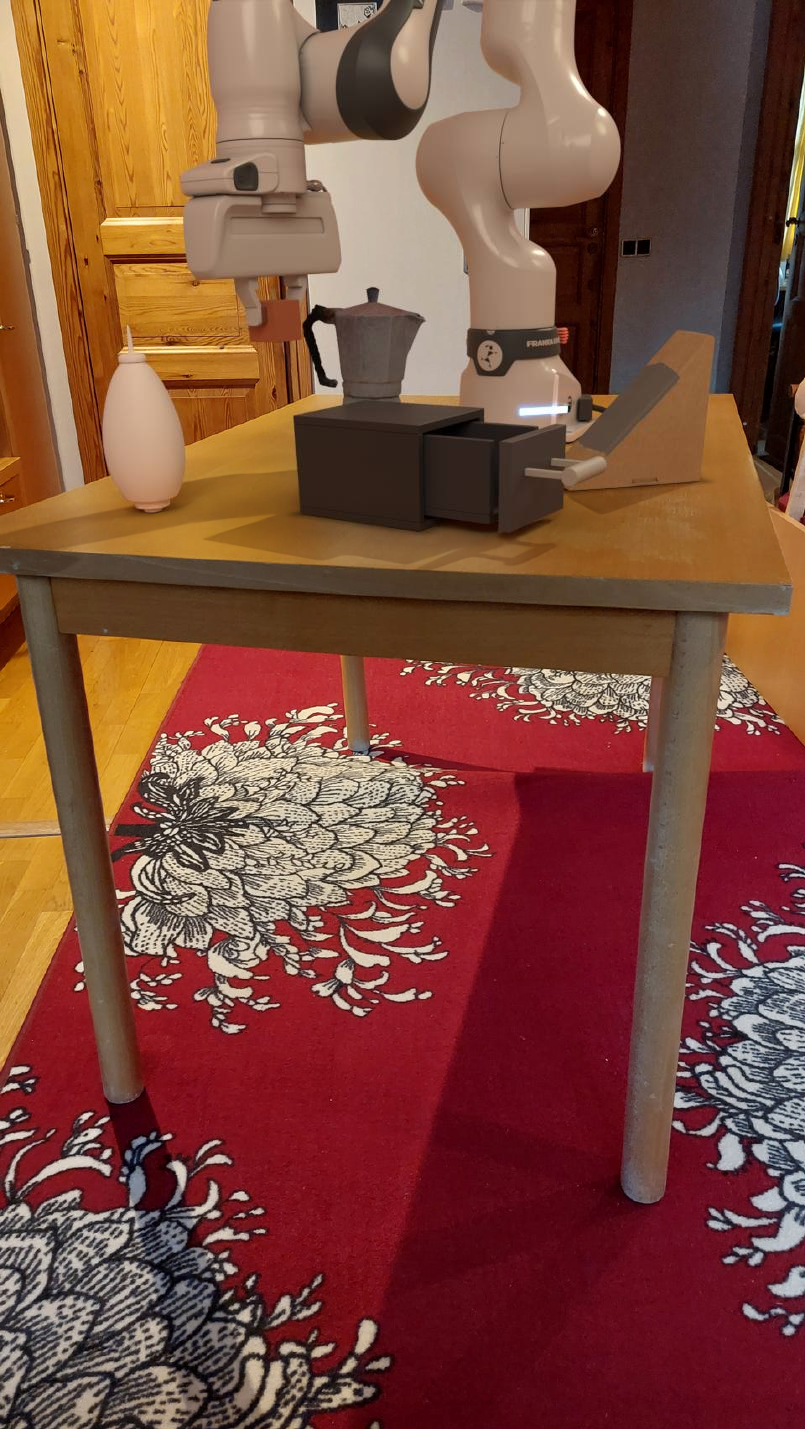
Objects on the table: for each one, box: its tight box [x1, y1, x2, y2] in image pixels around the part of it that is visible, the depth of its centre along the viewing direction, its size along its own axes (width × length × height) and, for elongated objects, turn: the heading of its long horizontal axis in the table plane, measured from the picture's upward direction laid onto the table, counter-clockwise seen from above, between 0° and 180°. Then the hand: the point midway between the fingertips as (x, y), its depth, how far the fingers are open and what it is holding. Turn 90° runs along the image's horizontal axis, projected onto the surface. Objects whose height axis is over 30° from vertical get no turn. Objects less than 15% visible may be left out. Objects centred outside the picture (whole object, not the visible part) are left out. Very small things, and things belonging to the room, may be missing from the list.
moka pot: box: [301, 286, 427, 405], centre depth 119 cm, size 10×15×20 cm, turn 78°
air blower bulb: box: [101, 324, 187, 513], centre depth 98 cm, size 8×8×18 cm
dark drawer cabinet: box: [292, 400, 484, 532], centre depth 97 cm, size 15×12×10 cm
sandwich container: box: [564, 329, 716, 492], centre depth 106 cm, size 9×15×15 cm, turn 102°
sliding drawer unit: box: [422, 421, 607, 534], centre depth 91 cm, size 19×10×8 cm, turn 55°
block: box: [247, 299, 303, 344], centre depth 105 cm, size 4×4×4 cm
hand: (274, 323), depth 105 cm, fingers closed on block, 4 cm apart
